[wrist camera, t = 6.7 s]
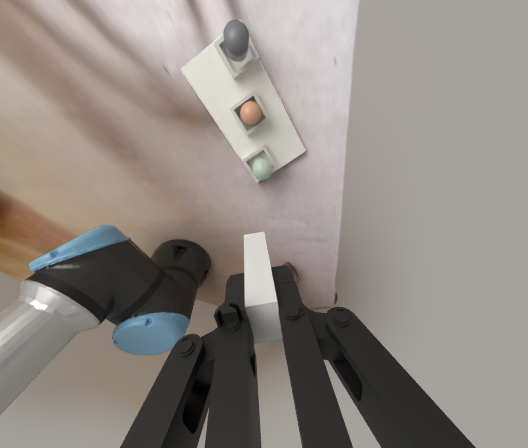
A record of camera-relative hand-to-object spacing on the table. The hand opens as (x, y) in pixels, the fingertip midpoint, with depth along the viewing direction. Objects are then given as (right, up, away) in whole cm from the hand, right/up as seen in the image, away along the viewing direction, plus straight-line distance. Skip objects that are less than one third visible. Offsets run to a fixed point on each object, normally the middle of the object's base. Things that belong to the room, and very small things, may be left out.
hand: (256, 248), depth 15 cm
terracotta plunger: (-2, +23, +25) cm, 34 cm away
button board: (-2, +24, +26) cm, 36 cm away
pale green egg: (0, +14, +27) cm, 30 cm away
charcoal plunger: (-4, +31, +18) cm, 36 cm away
